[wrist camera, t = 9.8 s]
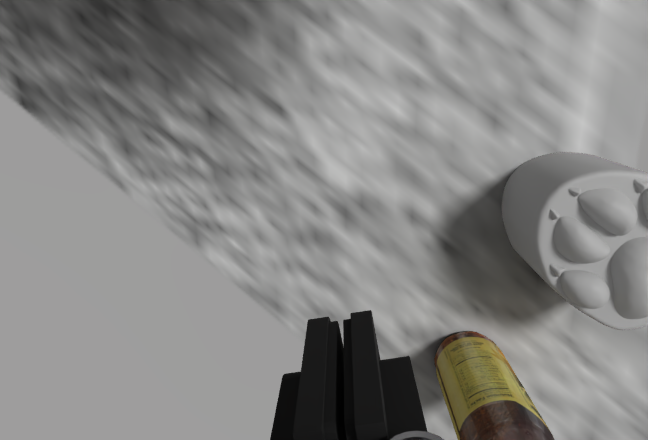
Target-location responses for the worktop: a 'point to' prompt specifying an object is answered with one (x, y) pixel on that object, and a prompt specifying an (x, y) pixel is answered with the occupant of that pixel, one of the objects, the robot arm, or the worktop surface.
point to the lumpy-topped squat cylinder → (584, 232)
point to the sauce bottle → (485, 392)
